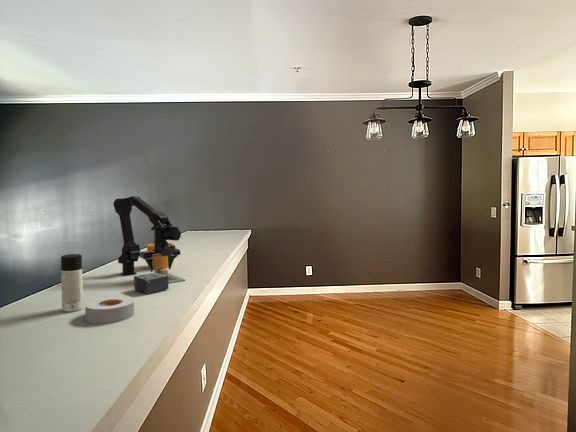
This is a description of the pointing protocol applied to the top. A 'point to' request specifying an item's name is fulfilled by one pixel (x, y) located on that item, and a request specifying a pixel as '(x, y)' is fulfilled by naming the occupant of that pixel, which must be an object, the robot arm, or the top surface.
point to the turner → (164, 273)
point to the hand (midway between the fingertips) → (160, 270)
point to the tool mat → (175, 280)
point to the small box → (150, 283)
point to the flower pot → (158, 258)
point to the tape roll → (109, 310)
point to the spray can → (71, 282)
